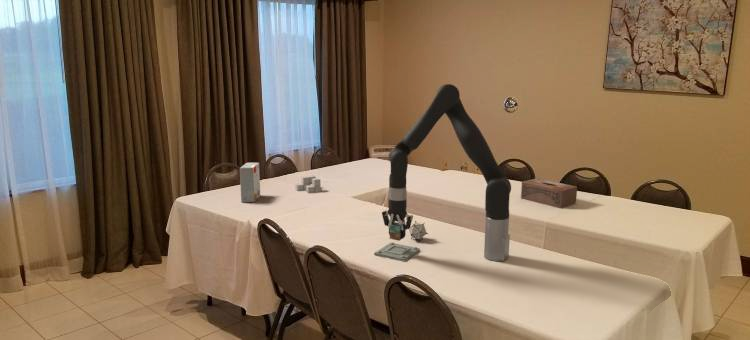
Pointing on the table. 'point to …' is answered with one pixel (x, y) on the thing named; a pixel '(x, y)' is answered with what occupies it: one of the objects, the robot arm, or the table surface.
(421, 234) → the grey faceted piece
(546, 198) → the tissue box cover
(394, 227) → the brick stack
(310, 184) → the grey block assembly
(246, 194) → the hard drive box
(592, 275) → the table surface
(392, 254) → the baseplate
